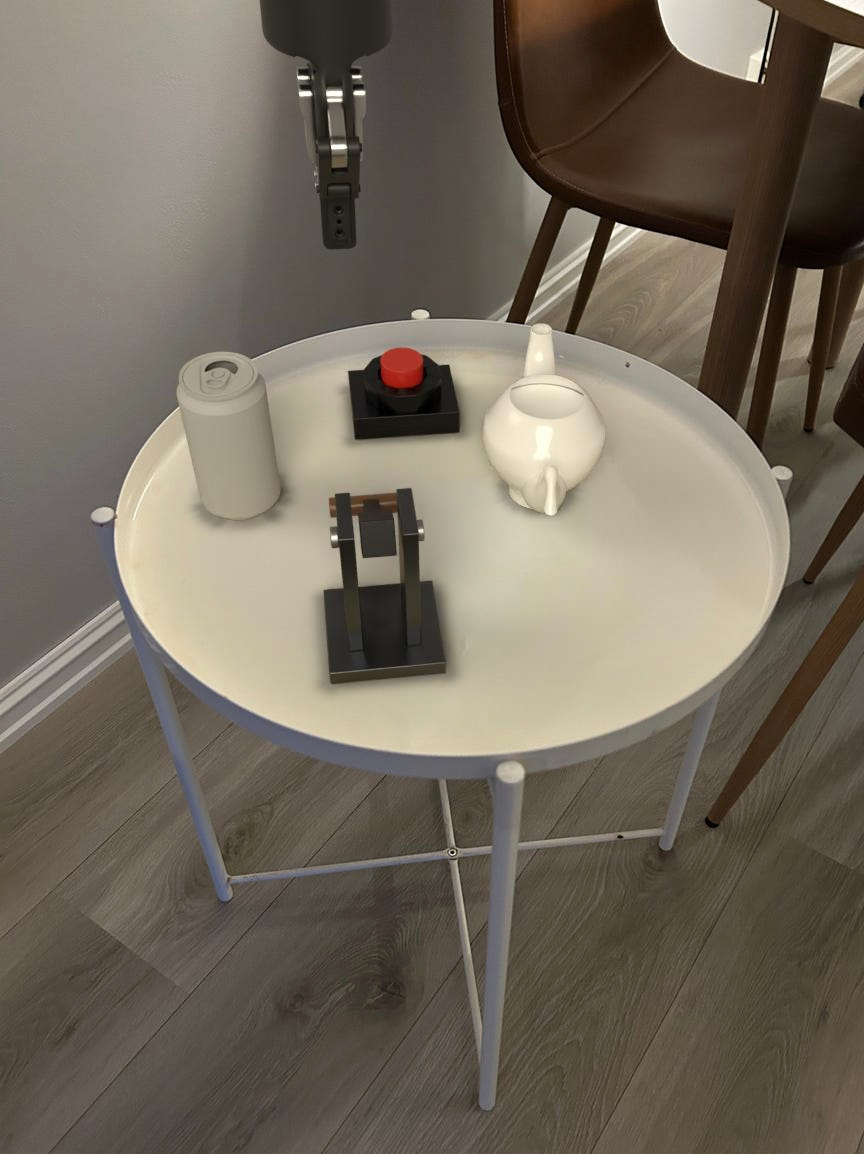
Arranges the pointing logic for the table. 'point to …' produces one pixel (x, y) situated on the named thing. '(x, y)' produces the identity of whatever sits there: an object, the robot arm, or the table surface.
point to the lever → (374, 523)
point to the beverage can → (229, 434)
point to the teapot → (543, 430)
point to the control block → (403, 403)
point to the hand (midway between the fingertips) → (339, 243)
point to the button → (401, 368)
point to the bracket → (382, 608)
